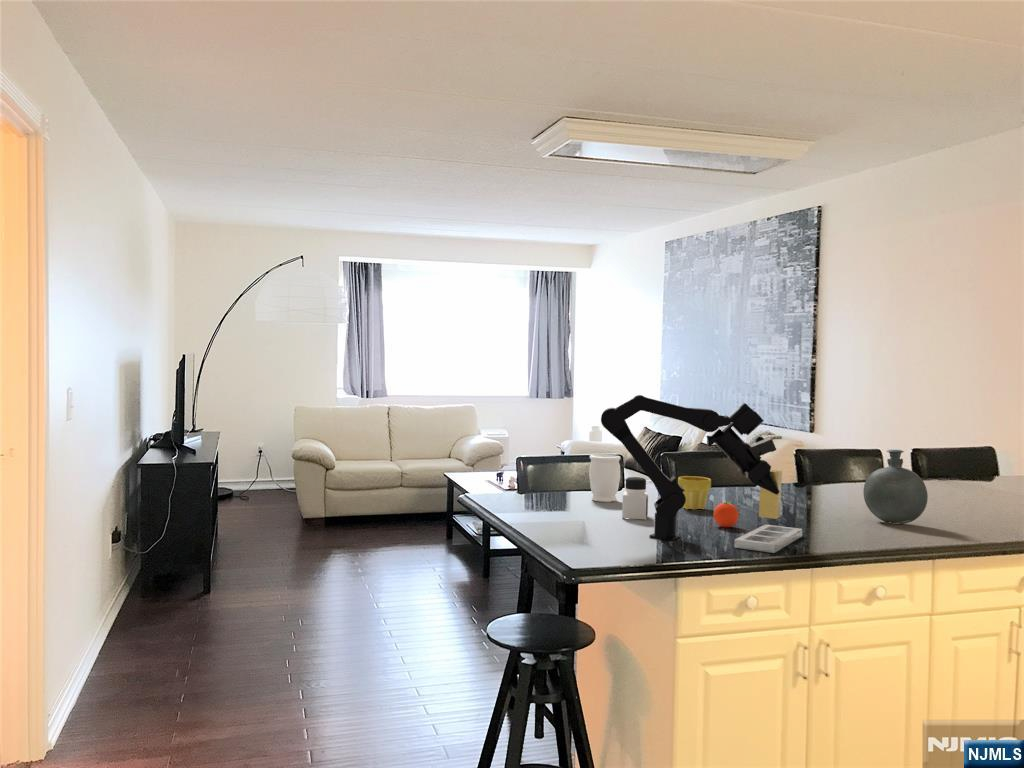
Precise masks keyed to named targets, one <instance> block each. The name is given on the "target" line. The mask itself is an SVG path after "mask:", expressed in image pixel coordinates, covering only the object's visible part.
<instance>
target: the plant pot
mask: <svg viewBox="0 0 1024 768" xmlns="http://www.w3.org/2000/svg"><path fill="white" fill-rule="evenodd" d="M677 483H678V484H679V485H680V486H682V487H683V488H684V490H685V491H684V492H683V493H684V495H685V497H686V501H685V504H684V506H683V507H682V508H683V509H684V508H685V509H684V510H688V509H703V510H704V509H705V507H706V503H707V500H708V499H707V498H708V494H709V491H711V488H712V479H711V478H709V477H704V476H694V475H693V476H692V475H691V476H690V475H683V476H678V478H677Z"/></svg>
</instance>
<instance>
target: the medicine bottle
mask: <svg viewBox="0 0 1024 768" xmlns="http://www.w3.org/2000/svg"><path fill="white" fill-rule="evenodd" d="M646 491H647V480H646V478H644V477H641V476H629V477H626V478H625V491H624V492H623V494H622V504H621V505H622V511H621V513H622V514H621V517H622V519H623V518H629V519H628V520H635V519H645V520H644V521H647V520H648V519H647V518H648V512H649V509H648V508H649V505H648V504H649V493H648V492H646Z"/></svg>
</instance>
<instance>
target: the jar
mask: <svg viewBox="0 0 1024 768" xmlns="http://www.w3.org/2000/svg"><path fill="white" fill-rule="evenodd" d="M589 459H590V464H589V470H588V476H589V477H588V478H589V484H590V485H589V486H590V490H591V493H592V494H593V495H592V497H591V501H595V502H600V503H612V502H611V501H614V502H616V501H617V500H618V498H617V497H616V495H617V494H618V491H619V485H620V480H621V465H620V460H621V456H620V455H615V454H605V453H604V454H600V453H599V454H590V455H589Z"/></svg>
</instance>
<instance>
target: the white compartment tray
mask: <svg viewBox="0 0 1024 768" xmlns="http://www.w3.org/2000/svg"><path fill="white" fill-rule="evenodd" d="M802 537H803V528H798V527H797V528H796V527H790V526H789V527H787V526H783V525H782V526H781V525H774V524H764V525H761V526H759V527H757V528H755V529H754V530H751V531H749V532H747V533H745V534H742V535H741V536H739V537H737V538H735V539H734V543H733V545H734V547H733V548H735V549H742V550H750V551H757V552H765V553H772V554H775V553H777V552H779V551H781V550H782V549H784V548H785V547H787V546H788V545H791V543H793V542H795V541H797V540H799V539H800V538H802Z"/></svg>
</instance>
